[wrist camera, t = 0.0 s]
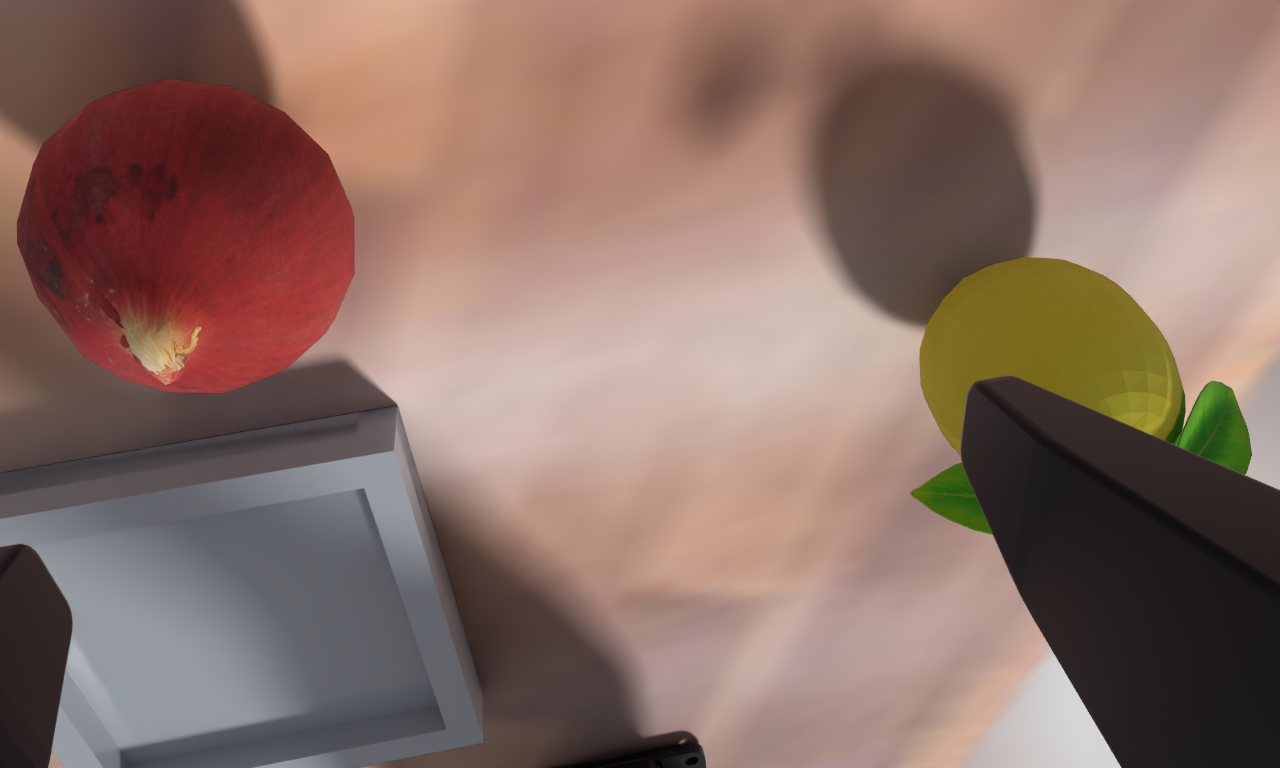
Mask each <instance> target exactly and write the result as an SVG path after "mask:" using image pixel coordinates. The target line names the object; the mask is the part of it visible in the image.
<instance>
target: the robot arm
mask: <svg viewBox="0 0 1280 768" xmlns="http://www.w3.org/2000/svg"><path fill="white" fill-rule="evenodd" d="M960 451H961V460H962V464H963V468H964V471H965V473H966V475H967V478H968V480H969V482H970V484H971V487H972V489H973V491H974V493H975V496H976V498H977V500H978V502H979V505H980V507H981V509H982V511H983V514H984V516H985V518H986V520H987V523H988V525H989V527H990V529H991V532H992V534H993V536H994V538H995V541H996V543H997V545H998V548H999V550H1000V552H1001V554H1002V557H1003V559H1004V561H1005V563H1006V566H1007V568H1008V570H1009V572H1010V575H1011V577H1012V579H1013V581H1014V583H1015V585H1016V587H1017V589H1018V591H1019V593H1020V595H1021V597H1022V599H1023V601H1024V603H1025V605H1026V606H1027V608H1028V610H1029V612H1030V614H1031V615H1032V617H1033V619H1034V620H1035V622H1036V624H1037V626H1038V627H1039V629H1040V631H1041V632H1042V634H1043V636H1044V637H1045V639H1046V641H1047V642H1048V644H1049V646H1050V648H1051V649H1052V651H1053V653H1054V654H1055V656H1056V658H1057V659H1058V661H1059V663H1060V664H1061V666H1062V668H1063V669H1064V671H1065V673H1066V674H1067V676H1068V678H1069V680H1070V681H1071V683H1072V685H1073V686H1074V688H1075V690H1076V692H1077V693H1078V695H1079V697H1080V698H1081V700H1082V702H1083V703H1084V705H1085V707H1086V708H1087V710H1088V712H1089V714H1090V715H1091V717H1092V719H1093V720H1094V722H1095V724H1096V725H1097V727H1098V729H1099V730H1100V732H1101V734H1102V735H1103V737H1104V739H1105V741H1106V742H1107V744H1108V746H1109V747H1110V749H1111V751H1112V752H1113V754H1114V756H1115V758H1116V759H1117V761H1118V763H1119V764H1120V766H1121V768H1280V490H1278V489H1276V488H1274V487H1271V486H1269V485H1266V484H1264V483H1262V482H1260V481H1257V480H1255V479H1252V478H1250V477H1248V476H1246V475H1243V474H1241V473H1239V472H1236V471H1234V470H1232V469H1229V468H1227V467H1225V466H1222V465H1220V464H1218V463H1215V462H1213V461H1211V460H1209V459H1206V458H1204V457H1202V456H1199V455H1197V454H1195V453H1192V452H1190V451H1188V450H1185V449H1183V448H1181V447H1178V446H1176V445H1174V444H1171V443H1169V442H1167V441H1164V440H1162V439H1160V438H1157V437H1155V436H1153V435H1150V434H1148V433H1146V432H1143V431H1141V430H1139V429H1137V428H1134V427H1132V426H1130V425H1127V424H1125V423H1123V422H1120V421H1118V420H1116V419H1113V418H1111V417H1109V416H1106V415H1104V414H1102V413H1099V412H1097V411H1095V410H1092V409H1090V408H1088V407H1085V406H1083V405H1081V404H1078V403H1076V402H1074V401H1071V400H1069V399H1067V398H1065V397H1062V396H1060V395H1058V394H1055V393H1053V392H1051V391H1048V390H1046V389H1044V388H1041V387H1039V386H1037V385H1034V384H1032V383H1030V382H1027V381H1025V380H1023V379H1020V378H1018V377H1015V376H1003V377H997V378H991V379H985V380H979V381H976V382H975V383H973V384H972V385H971V386H970V388H969V390H968V393H967V397H966V406H965V414H964V422H963V430H962V438H961V448H960ZM72 629H73V619H72V612H71V609H70V606H69V604H68V602H67V600H66V598H65V597H64V595H63V593H62V592H61V590H60V588H59V587H58V585H57V584H56V582H55V580H54V579H53V577H52V575H51V574H50V572H49V571H48V569H47V567H46V566H45V564H44V562H43V561H42V559H41V557H40V556H39V555H38V553H37V552H36V551H35V550H34V549H33V548H32V547H30V546H28V545H24V544H15V545H9V546H3V547H0V768H48V765H49V760H50V756H51V750H52V744H53V739H54V733H55V727H56V722H57V716H58V710H59V705H60V699H61V693H62V687H63V682H64V676H65V670H66V665H67V659H68V653H69V647H70V642H71V636H72ZM571 768H706V762H705V756H704V752H703V748H702V746H700V745H699V744H695V743H692V744H685V745H680V746H675V747H670V748H665V749H660V750H655V751H650V752H645V753H640V754H635V755H630V756H625V757H620V758H615V759H610V760H605V761H600V762H595V763H590V764H586V765H581V766H576V767H571Z"/></svg>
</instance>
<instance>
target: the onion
mask: <svg viewBox="0 0 1280 768" xmlns="http://www.w3.org/2000/svg"><path fill="white" fill-rule="evenodd" d="M17 244H18V247H19V249H20V252H21V254H22V257H23V260H24V262H25V265H26V268H27V270H28V273H29V276H30V278H31V281H32V284H33V286H34V289H35V291H36V294H37V297H38V298H39V299H40V301H41V302H42V303H43V304H44V306H45V307H46V308H47V309H48V311H49V312H50V313H51V315H52V316H53V317H54V318H55V320H56V321H57V322H58V324H59V325H60V326H61V328H62V329H63V330H64V332H65V333H66V334H67V336H68V337H69V338H70V340H71V341H72V342H73V344H74V345H75V346H76V348H77V349H78V350H79V351H80V352H81V353H82V354H83V355H84V356H85V357H86V358H88V359H90V360H91V361H93V362H95V363H96V364H98V365H100V366H101V367H103V368H105V369H107V370H108V371H110V372H112V373H113V374H115V375H117V376H118V377H120V378H122V379H123V380H125V381H129V382H133V383H137V384H141V385H145V386H149V387H153V388H157V389H161V390H164V391H168V392H196V393H225V392H229V391H233V390H235V389H238V388H241V387H243V386H246V385H248V384H251V383H253V382H256V381H259V380H261V379H264V378H266V377H269V376H272V375H274V374H277V373H279V372H280V371H282V370H284V369H285V368H287V367H289V366H290V365H291V364H293V363H294V362H295V361H296V360H297V359H298V358H299V357H300V356H301V355H302V354H303V353H305V352H306V351H307V350H308V349H309V348H310V347H311V346H312V345H313V344H314V343H316V342H317V341H318V340H319V339H320V338H321V337H322V336H323V335H324V334H325V333H326V332H327V330H328V329H329V327H330V325H331V324H332V322H333V321H334V319H335V317H336V315H337V312H338V310H339V308H340V306H341V303H342V301H343V299H344V296H345V294H346V292H347V290H348V287H349V285H350V283H351V280H352V278H353V276H354V216H353V212H352V208H351V205H350V203H349V200H348V198H347V196H346V194H345V191H344V189H343V187H342V185H341V182H340V180H339V178H338V175H337V173H336V171H335V169H334V166H333V164H332V162H331V160H330V157H329V155H328V153H326V152H325V151H324V150H323V149H322V148H321V147H320V146H319V145H318V144H317V143H316V142H315V141H314V140H313V139H312V138H311V137H310V136H309V135H308V134H307V133H306V132H305V131H304V130H303V129H302V128H301V127H299V126H298V125H297V124H296V123H295V122H294V121H293V120H292V119H291V118H290V117H289V116H288V115H287V114H286V113H285V112H283V111H281V110H279V109H277V108H275V107H273V106H271V105H268V104H266V103H264V102H262V101H260V100H258V99H256V98H254V97H252V96H249V95H247V94H245V93H243V92H241V91H239V90H237V89H235V88H233V87H231V86H223V85H215V84H208V83H200V82H192V81H184V80H177V79H168V80H163V81H159V82H155V83H151V84H147V85H143V86H139V87H135V88H130V89H126V90H122V91H118V92H114V93H111V94H108V95H106V96H104V97H102V98H99V99H97V100H95V101H93V102H91V103H90V104H89V105H87V106H86V107H85V108H84V109H83V110H82V111H80V112H79V113H78V114H77V115H76V116H74V117H73V118H72V119H71V120H70V121H69V122H67V123H66V124H65V125H64V126H63V127H62V128H60V129H59V130H58V131H57V132H56V133H55V134H53V135H52V136H51V137H50V138H49V139H47V140H46V141H45V142H44V143H43V145H42V147H41V149H40V151H39V153H38V155H37V158H36V160H35V162H34V164H33V167H32V171H31V174H30V178H29V181H28V185H27V188H26V192H25V196H24V199H23V203H22V206H21V210H20V213H19V217H18V220H17Z"/></svg>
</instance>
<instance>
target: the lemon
mask: <svg viewBox="0 0 1280 768" xmlns="http://www.w3.org/2000/svg"><path fill="white" fill-rule="evenodd" d="M919 360H920V380H921V387H922V391H923V394H924V398H925V400H926V402H927V404H928V406H929V408H930V410H931V412H932V414H933V416H934V418H935V420H936V422H937V424H938V426H939V428H940V430H941V432H942V434H943V435H944V437H945V438H946V439H947V441H948V442H949V443H950V445H951V446H952V447H953V448H954V449H955V450H956V451H957V452H958V454H959V455H960V456H961V451H960V448H961V438H962V430H963V422H964V414H965V406H966V397H967V393H968V390H969V388H970V386H971V385H972V384H973V383H975V382H976V381H979V380H985V379H991V378H997V377H1003V376H1015V377H1018V378H1020V379H1023V380H1025V381H1027V382H1030V383H1032V384H1034V385H1037V386H1039V387H1041V388H1044V389H1046V390H1048V391H1051V392H1053V393H1055V394H1058V395H1060V396H1062V397H1065V398H1067V399H1069V400H1071V401H1074V402H1076V403H1078V404H1081V405H1083V406H1085V407H1088V408H1090V409H1092V410H1095V411H1097V412H1099V413H1102V414H1104V415H1106V416H1109V417H1111V418H1113V419H1116V420H1118V421H1120V422H1123V423H1125V424H1127V425H1130V426H1132V427H1134V428H1137V429H1139V430H1141V431H1143V432H1146V433H1148V434H1150V435H1153V436H1155V437H1157V438H1160V439H1162V440H1164V441H1167V442H1169V443H1171V444H1174V445H1176V446H1178V447H1181V448H1183V449H1185V450H1188V451H1190V452H1192V453H1195V454H1197V455H1199V456H1202V457H1204V458H1206V459H1209V460H1211V461H1213V462H1215V463H1218V464H1220V465H1222V466H1225V467H1227V468H1229V469H1232V470H1234V471H1236V472H1239V473H1241V474H1243V475H1245V474H1246V472H1247V470H1248V466H1249V463H1250V459H1251V456H1252V453H1251V445H1250V438H1249V433H1248V429H1247V425H1246V423H1245V421H1244V418H1243V416H1242V413H1241V411H1240V408H1239V406H1238V403H1237V400H1236V398H1235V395H1234V392H1233V390H1232V388H1230V387H1228V386H1226V385H1225V384H1223V383H1221V382H1217V381H1211V382H1210V383H1208V384H1207V385H1206V386H1205V387H1204V388H1203V390H1202V391H1201V393H1200V394H1199V396H1198V398H1197V400H1196V402H1195V404H1194V406H1193V408H1192V411H1191V413H1190V415H1189V417H1188V419H1187V421H1186V424H1185V426H1184V428H1183V423H1184V417H1185V411H1186V410H1185V394H1184V390H1183V386H1182V382H1181V379H1180V375H1179V372H1178V368H1177V365H1176V361H1175V358H1174V356H1173V354H1172V351H1171V349H1170V347H1169V345H1168V343H1167V341H1166V339H1165V338H1164V336H1163V335H1162V333H1161V331H1160V330H1159V328H1158V327H1157V326H1156V325H1155V323H1154V322H1153V321H1152V320H1151V319H1150V318H1149V316H1148V315H1147V314H1146V313H1145V312H1144V311H1143V309H1142V308H1141V307H1140V306H1139V305H1138V304H1137V303H1136V302H1135V300H1134V299H1133V298H1132V297H1131V296H1130V295H1129V294H1128V293H1127V292H1126V291H1124V290H1123V289H1122V288H1121V287H1120V286H1119V285H1118V284H1116V283H1115V282H1113V281H1112V280H1110V279H1108V278H1107V277H1105V276H1104V275H1102V274H1099V273H1097V272H1094V271H1092V270H1090V269H1087V268H1085V267H1082V266H1080V265H1077V264H1074V263H1071V262H1068V261H1065V260H1060V259H1050V258H1030V257H1021V258H1017V259H1013V260H1009V261H1005V262H1000V263H996V264H993V265H990V266H987V267H985V268H983V269H981V270H979V271H977V272H975V273H973V274H971V275H969V276H967V277H965V278H963V279H962V280H961V281H960V282H959V283H958V284H957V285H956V286H955V287H954V288H953V289H952V290H951V291H950V292H949V293H948V294H947V295H946V296H945V297H944V299H943V301H942V302H941V304H940V305H939V307H938V308H937V310H936V311H935V313H934V314H933V316H932V317H931V319H930V320H929V322H928V323H927V326H926V330H925V333H924V337H923V340H922V344H921V347H920V359H919ZM1182 429H1183V431H1182ZM910 494H911V495H912V496H913V497H914V498H915V499H917V500H919V501H920V502H921V503H923V504H924V505H925V506H927V507H928V508H930V509H931V510H932V511H934V512H935V513H937V514H939V515H941V516H943V517H944V518H946V519H948V520H950V521H953V522H955V523H958V524H960V525H963V526H965V527H968V528H970V529H972V530H975V531H979V532H983V533H988V534H992V532H991V529H990V527H989V525H988V523H987V520H986V518H985V516H984V514H983V511H982V509H981V507H980V505H979V502H978V500H977V498H976V496H975V493H974V491H973V489H972V487H971V484H970V482H969V480H968V478H967V475H966V473H965V471H964V468H963V464H962V463H959V464H956V465H954V466H952V467H950V468H948V469H947V470H945V471H943V472H941V473H939V474H938V475H936V476H935V477H933V478H932V479H930V480H929V481H928V482H926V483H925V484H923V485H922V486H921V487H919V488H917V489H915V490H913V491H912V492H911V493H910ZM992 535H993V534H992Z"/></svg>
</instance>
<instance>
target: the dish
mask: <svg viewBox="0 0 1280 768" xmlns="http://www.w3.org/2000/svg"><path fill="white" fill-rule="evenodd" d="M15 544H24V545H28V546H30V547H32V548H33V549H34V550H35V551H36V552H37V553H38V555H39V556H40V557H41V559H42V561H43V562H44V564H45V566H46V567H47V569H48V571H49V572H50V574H51V575H52V577H53V579H54V580H55V582H56V584H57V585H58V587H59V588H60V590H61V592H62V593H63V595H64V597H65V598H66V600H67V602H68V604H69V606H70V609H71V612H72V619H73V629H72V636H71V642H70V647H69V653H68V659H67V665H66V670H65V676H64V682H63V687H62V693H61V699H60V705H59V710H58V716H57V722H56V727H55V733H54V739H53V744H52V750H51V751H52V752H53V753H54V755H55V756H56V757H57V759H58V760H59V762H60V763H61V764H62V766H63V767H64V768H359V767H364V766H369V765H374V764H379V763H384V762H389V761H394V760H399V759H405V758H410V757H415V756H420V755H425V754H430V753H435V752H440V751H445V750H450V749H455V748H460V747H465V746H470V745H475V744H480V743H484V720H483V691H482V688H481V685H480V681H479V678H478V675H477V671H476V668H475V664H474V661H473V658H472V654H471V651H470V648H469V644H468V641H467V637H466V634H465V631H464V627H463V624H462V621H461V617H460V614H459V610H458V607H457V604H456V600H455V597H454V594H453V590H452V587H451V583H450V580H449V577H448V573H447V570H446V567H445V563H444V560H443V556H442V553H441V550H440V546H439V543H438V540H437V536H436V533H435V529H434V526H433V523H432V519H431V516H430V513H429V509H428V506H427V502H426V499H425V496H424V492H423V489H422V486H421V482H420V479H419V475H418V472H417V469H416V465H415V462H414V459H413V455H412V452H411V448H410V445H409V442H408V438H407V435H406V431H405V428H404V425H403V421H402V418H401V415H400V411H399V408H398V406H393V407H387V408H382V409H376V410H370V411H364V412H358V413H352V414H346V415H340V416H335V417H329V418H323V419H317V420H311V421H305V422H299V423H293V424H287V425H282V426H276V427H270V428H264V429H258V430H252V431H246V432H240V433H235V434H229V435H223V436H217V437H211V438H205V439H199V440H193V441H187V442H182V443H176V444H170V445H164V446H158V447H152V448H146V449H140V450H134V451H129V452H123V453H117V454H111V455H105V456H99V457H93V458H87V459H82V460H76V461H70V462H64V463H58V464H52V465H46V466H40V467H34V468H29V469H23V470H17V471H11V472H5V473H0V547H3V546H9V545H15Z"/></svg>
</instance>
